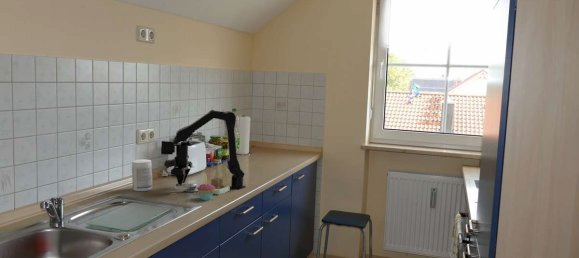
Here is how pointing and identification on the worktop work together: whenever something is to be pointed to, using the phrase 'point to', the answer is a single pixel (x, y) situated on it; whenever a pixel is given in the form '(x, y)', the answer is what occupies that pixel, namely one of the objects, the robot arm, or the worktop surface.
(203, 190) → the cupcake
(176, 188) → the crank
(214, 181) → the stop block
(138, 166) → the supplement tub
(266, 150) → the worktop surface
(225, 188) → the tray
